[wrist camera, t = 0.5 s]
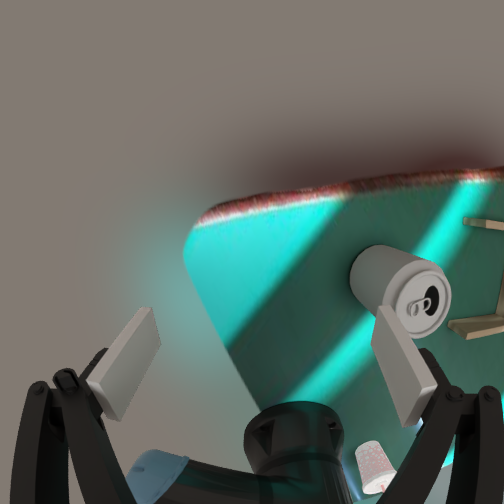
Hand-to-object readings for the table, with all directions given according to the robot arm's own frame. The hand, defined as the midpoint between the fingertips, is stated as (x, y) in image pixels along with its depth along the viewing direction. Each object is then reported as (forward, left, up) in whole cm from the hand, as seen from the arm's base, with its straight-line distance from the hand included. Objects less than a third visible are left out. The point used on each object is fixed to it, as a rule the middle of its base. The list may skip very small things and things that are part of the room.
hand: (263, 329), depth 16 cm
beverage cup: (-33, -20, -17) cm, 42 cm away
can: (-1, -14, -17) cm, 22 cm away
